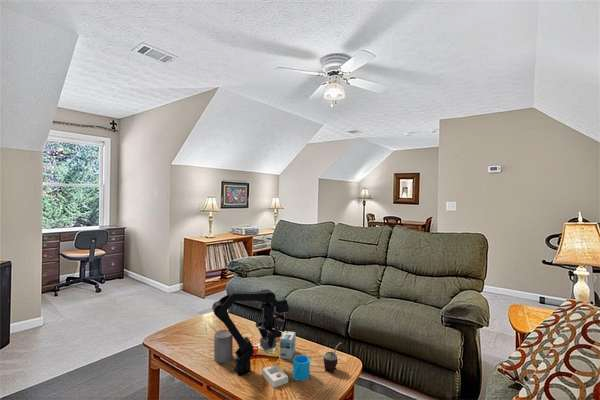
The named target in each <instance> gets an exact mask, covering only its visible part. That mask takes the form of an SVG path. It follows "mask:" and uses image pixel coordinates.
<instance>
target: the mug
mask: <svg viewBox="0 0 600 400" xmlns="http://www.w3.org/2000/svg"><path fill="white" fill-rule="evenodd" d="M310 363H311V359H310V357H309V356H307V355H304V354H299V355H298V354H297V355H295V356H293V357H292V364H293V365H292V368H293V369H292V378H293V380H295V381H306V380H309V378H310V369H311V364H310Z"/></svg>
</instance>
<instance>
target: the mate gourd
mask: <svg viewBox="0 0 600 400" xmlns="http://www.w3.org/2000/svg"><path fill="white" fill-rule="evenodd" d="M341 344H343V342H339V343H338V344H336V346H335V349H334V352H333V351H327V352H325V354H324V355H323V365H324V372H329V371H330V372H331V373H332V374H334V373H335V371H334V370H336V369H337V368H336V367H337V365H338V362H339V361H338V356H337V354H336V351H337V349H338V347H339V346H340V345H341Z"/></svg>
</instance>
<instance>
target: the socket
mask: <svg viewBox="0 0 600 400" xmlns="http://www.w3.org/2000/svg"><path fill="white" fill-rule="evenodd" d="M261 373H262V374H261V375H262V377H263V378H265V380H266V381H267V382H268V383H269V384H270V385H271V387H272V388H274V389H275V388H277V387H279V386H280V387H281V386H282V385H286V384H288V383H289V376H288V374H286V373H285V371H283V370H282V369H281V368H280V367H279V366H278V365H277V364H274V365H271V366H268V367H264V368H262V371H261Z"/></svg>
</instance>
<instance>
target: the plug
mask: <svg viewBox="0 0 600 400" xmlns="http://www.w3.org/2000/svg"><path fill="white" fill-rule="evenodd" d="M259 339H260V340H259V342H260V343H259V346H260V347H261V348H262V349H263V352H264V353H265V354H270V353H273V350H274V348H277V338H275V339H274V342H273V345H272V347H271V348H270V347H269V344H268V341H267V337H263V338H262V337H260V338H259Z"/></svg>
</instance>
